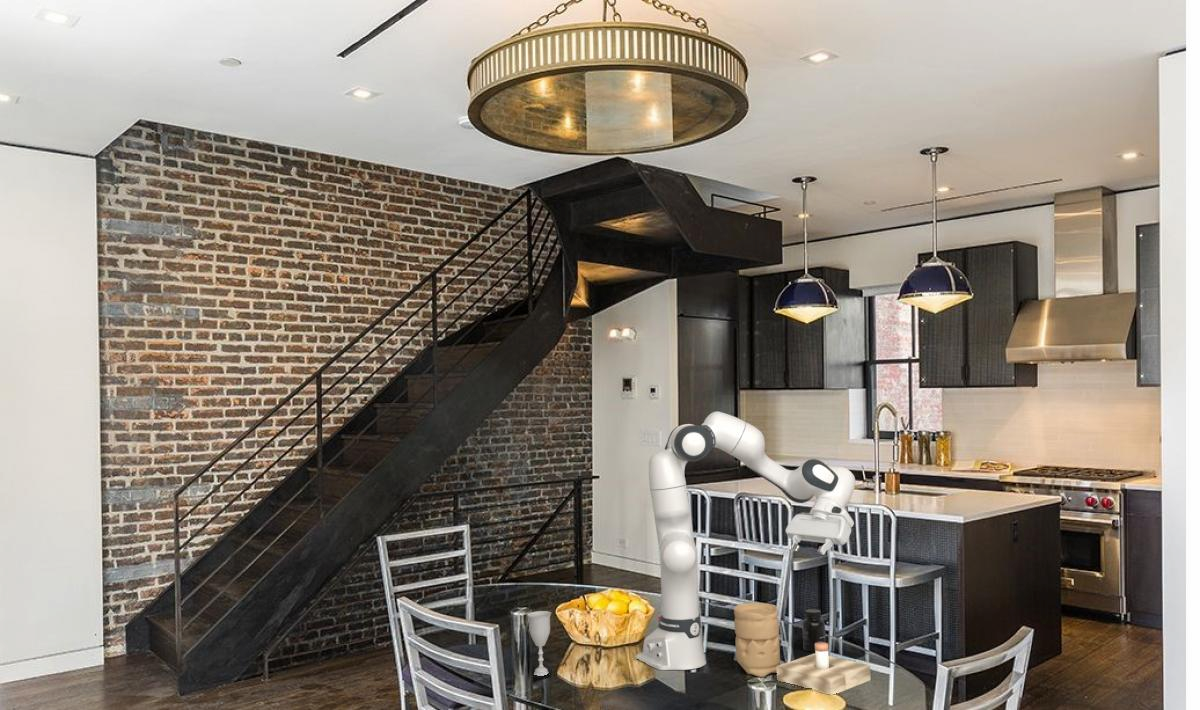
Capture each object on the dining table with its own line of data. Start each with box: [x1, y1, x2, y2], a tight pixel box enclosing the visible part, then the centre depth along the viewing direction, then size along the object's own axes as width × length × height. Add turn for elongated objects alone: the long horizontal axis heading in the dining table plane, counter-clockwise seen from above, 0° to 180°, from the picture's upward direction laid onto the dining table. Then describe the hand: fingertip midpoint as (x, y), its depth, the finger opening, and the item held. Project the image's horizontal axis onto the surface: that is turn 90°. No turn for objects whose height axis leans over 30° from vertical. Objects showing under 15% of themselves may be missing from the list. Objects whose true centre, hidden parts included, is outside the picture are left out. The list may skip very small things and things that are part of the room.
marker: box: [815, 642, 830, 670], centre depth 248 cm, size 4×4×10 cm
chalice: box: [527, 610, 552, 676], centre depth 261 cm, size 7×7×18 cm
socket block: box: [776, 652, 872, 695], centre depth 248 cm, size 18×18×4 cm
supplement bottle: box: [802, 608, 827, 653], centre depth 278 cm, size 7×7×12 cm
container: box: [733, 602, 781, 678], centre depth 260 cm, size 13×13×18 cm
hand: (807, 551), depth 262 cm, fingers open, 8 cm apart
